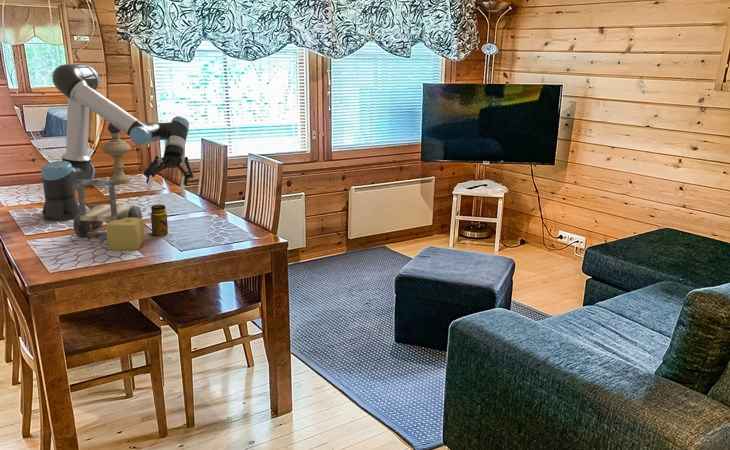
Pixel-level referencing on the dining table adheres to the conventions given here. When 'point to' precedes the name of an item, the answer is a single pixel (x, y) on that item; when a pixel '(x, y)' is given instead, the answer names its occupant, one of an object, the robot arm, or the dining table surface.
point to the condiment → (158, 222)
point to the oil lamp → (117, 155)
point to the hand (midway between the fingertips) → (165, 190)
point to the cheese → (125, 234)
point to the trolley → (100, 209)
